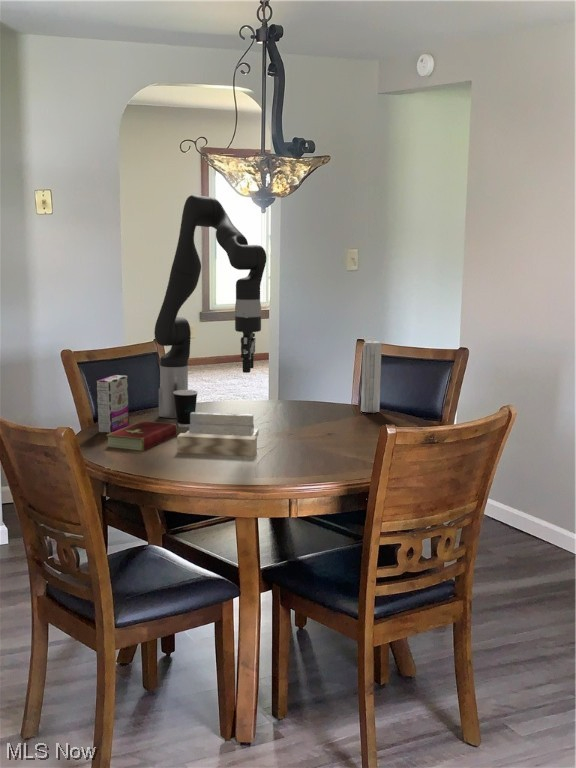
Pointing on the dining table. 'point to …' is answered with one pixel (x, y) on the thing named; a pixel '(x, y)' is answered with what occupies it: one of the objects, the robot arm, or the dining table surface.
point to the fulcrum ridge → (222, 424)
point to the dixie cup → (184, 406)
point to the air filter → (371, 376)
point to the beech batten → (217, 444)
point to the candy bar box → (112, 403)
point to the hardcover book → (141, 435)
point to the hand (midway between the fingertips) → (248, 370)
